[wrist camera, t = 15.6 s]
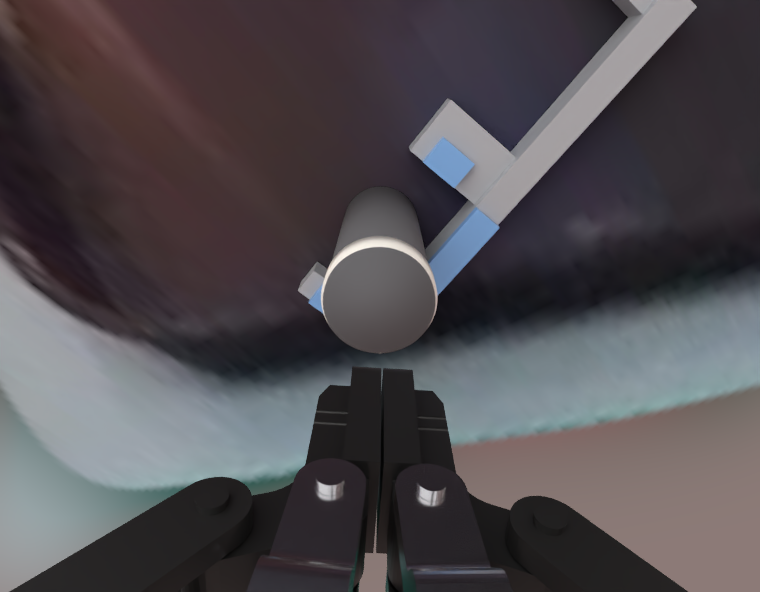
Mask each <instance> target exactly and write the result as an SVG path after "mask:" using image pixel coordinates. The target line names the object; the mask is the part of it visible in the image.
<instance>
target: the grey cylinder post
mask: <svg viewBox="0 0 760 592" xmlns="http://www.w3.org/2000/svg"><path fill="white" fill-rule="evenodd" d="M321 306H322V310H323V314H324V316H325V319H326V321H327V322H328V324H329V326H330V327H331V329H332V330H333V332H334V333H335V334H336V335H337V336H338V337H339V338H340V339H341V340H342V341H344V342H345V343H347V344H348V345H350V346H352V347H354V348H356V349H359V350H362V351H365V352H370V353H388V352H393V351H397V350H400V349H403V348H405V347H407V346H409V345H411V344H412V343H413V342H415V341H416V340H417V339H419V338H420V337H421V336H422V335H423V333H424V332H425V331H426V330H427V328H428V327H429V325H430V324H431V322H432V320H433V318H434V315H435V312H436V308H437V288H436V284H435V279H434V276H433V272H432V270H431V267H430V265H429V263H428V261H427V257H426V253H425V248H424V244H423V240H422V235H421V231H420V226H419V222H418V218H417V214H416V210H415V208H414V206H413V204H412V203H411V201H410V200H409V199H408V198H407V197H406V196H405V195H404V194H403V193H401V192H399V191H398V190H396V189H393V188H389V187H382V186H381V187H372V188H369V189H366V190H364V191H362V192H361V193H359V194H358V195H357V196H355V197H354V198H353V200H352V201H351V202H350V204H349V205H348V207H347V210H346V213H345V216H344V220H343V223H342V227H341V231H340V234H339V238H338V241H337V245H336V249H335V252H334V256H333V259H332V261H331V263H330V265H329V267H328V269H327V272H326V275H325V278H324V281H323V285H322V290H321Z"/></svg>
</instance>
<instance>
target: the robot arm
mask: <svg viewBox="0 0 760 592" xmlns="http://www.w3.org/2000/svg"><path fill="white" fill-rule="evenodd" d="M376 511H377V541H376V542H377V543H376V544H377V545H376V552H377V553H386V554H387V576H386V586H385V592H687V591H686V590H685V589H684V588H682V587H681V586H679V585H678V584H677V583H675V582H673V581H672V580H671V579H670V578H668V577H667V576H665V575H664V574H662V573H661V572H660V571H658V570H657V569H655V568H654V567H653V566H651V565H650V564H649V563H647V562H646V561H644V560H643V559H642V558H640V557H639V556H637V555H636V554H635V553H633V552H632V551H631V550H629V549H628V548H626V547H625V546H624V545H622V544H621V543H619V542H618V541H617V540H615V539H614V538H612V537H611V536H609V535H608V534H607V533H605V532H604V531H602V530H601V529H600V528H598V527H597V526H596V525H594V524H593V523H591V522H590V521H589V520H587V519H586V518H584V517H583V516H582V515H580V514H579V513H577V512H576V511H575V510H573V509H572V508H570V507H569V506H567V505H566V504H564V503H562V502H560V501H557V500H555V499H552V498H548V497H542V496H529V497H525V498H522V499H520V500H518V501H517V502H515V503H514V505H513V506H512V508H511V510H507V509H504V508H501V507H497V506H494V505H491V504H488V503H486V502H483V501H481V500H479V499H477V498H476V497H474V496H472V495H471V494H470V493H469V492H468V491H467V488H466V486H465V483H464V482H463V480H462V479H461V478H460V477H459V476H458V475H457V474H456V471H455V465H454V460H453V454H452V449H451V443H450V438H449V432H448V427H447V421H446V416H445V410H444V405H443V403H442V402H441V400H440V399H439V398H438V397H437V396H436V395H435V393H434V392H433V391H422V390H414V380H413V371H412V370H403V369H386V368H384V369H383V379H382V391H381V368H368V367H352V377H351V386H337V385H330V386H329V387H328V388H327V389H326V390H325V391H324V392H323V393H322V394H321V395H320V396H319V399H318V404H317V409H316V414H315V419H314V424H313V429H312V434H311V439H310V444H309V449H308V454H307V459H306V464H305V466H304V467H302V468H301V469H300V470H299V472H298V473H297V474H296V477H295V479H294V482H293V483H291V484H290V485H288V486H286V487H284V488H282V489H279V490H277V491H273V492H269V493H264V494H258V495H253V496H252V495H251V492H250V490H249V489H248V487H247V486H246V485H245V484H243V483H242V482H240V481H238V480H235V479H232V478H227V477H213V478H207V479H203V480H200V481H198V482H195V483H193V484H191V485H189V486H188V487H186V488H184V489H183V490H181V491H179V492H178V493H176V494H174V495H173V496H171V497H169V498H167V499H166V500H164V501H162V502H161V503H159V504H157V505H156V506H154V507H152V508H150V509H149V510H147V511H145V512H144V513H142V514H140V515H139V516H137V517H135V518H134V519H132V520H130V521H128V522H127V523H125V524H123V525H122V526H120V527H118V528H117V529H115V530H113V531H112V532H110V533H108V534H106V535H105V536H103V537H102V538H100V539H98V540H96V541H95V542H93V543H91V544H90V545H88V546H86V547H85V548H83V549H81V550H80V551H78V552H76V553H74V554H73V555H71V556H69V557H68V558H66V559H64V560H62V561H61V562H59V563H57V564H56V565H54V566H52V567H51V568H49V569H47V570H46V571H44V572H42V573H40V574H39V575H37V576H35V577H34V578H32V579H30V580H29V581H27V582H25V583H24V584H22V585H20V586H18V587H17V588H15V589H13V590H12V591H10V592H359V581H360V579H361V577H362V574H363V570H364V558H365V553H373V548H374V536H375V523H376Z"/></svg>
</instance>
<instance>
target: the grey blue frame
mask: <svg viewBox="0 0 760 592" xmlns="http://www.w3.org/2000/svg"><path fill="white" fill-rule="evenodd" d="M612 1H613V2H614V3H615V4H616V5H617V6H618V7H619V8H620V10H621V11H622V12H623V13H624V14H625V15H626V16H627V17H628V18H627V19H626V20H625V21H624V23H623V24H622V25H621V26H620V27H619V28H618V29H617V31H616V32H615V33H614V34H613V35H612V36H611V37H610V39H609V40H608V41H607V42H606V43H605V44H604V45H603V47H602V48H601V49H600V50H599V51H598V52H597V53H596V55H595V56H594V57H593V58H592V59H591V60H590V62H589V63H588V64H587V65H586V66H585V67H584V68H583V70H582V71H581V72H580V73H579V74H578V75H577V76H576V78H575V79H574V80H573V81H572V82H571V83H570V84H569V86H568V87H567V88H566V89H565V90H564V91H563V92H562V94H561V95H560V96H559V97H558V98H557V99H556V100H555V102H554V103H553V104H552V105H551V106H550V107H549V108H548V110H547V111H546V112H545V113H544V114H543V115H542V116H541V118H540V119H539V120H538V121H537V122H536V123H535V124H534V126H533V127H532V128H531V129H530V130H529V131H528V132H527V134H526V135H525V136H524V137H523V138H522V139H521V140H520V142H519V143H518V144H517V145H516V146H515V147H514V148H513V150H512V151H511V152H509V151H508V150H507V149H506V148H505V147H504V146H503V145H501V144H500V143H499V142H498V141H497V140H496V139H495V138H494V137H492V136H491V135H490V134H489V133H488V132H487V131H486V130H485V129H483V128H482V127H481V126H480V125H479V124H478V123H477V122H476V121H474V120H473V119H472V118H471V117H470V116H469V115H468V114H466V113H465V112H464V111H463V110H462V109H461V108H460V107H459V106H457V105H456V104H455V103H454V102H453V101H452V100H450V99H448V98H447V100H446V101H445V102H444V103H443V105H442V106H441V107H440V108H439V110H438V111H437V112H436V113H435V115H434V116H433V117H432V118H431V120H430V121H429V122H428V123H427V125H426V126H425V127H424V128H423V130H422V131H421V132H420V133H419V135H418V136H417V137H416V138H415V140H414V141H413V142H412V143H411V145H410V146H409V149H410V151H411V152H412V153H414V154H415V155H416V156H417V157H418V158H420V159H421V160H422V161H423V163H424V164H425V165H427V166H428V167H429V168H430V169H431V170H433V171H434V172H435V173H436V174H437V175H439V176H440V177H441V178H442V179H443V180H445V181H446V182H447V183H448V184H449V185H451V186H452V187H453V188H455V189H456V190H458V191H459V192H460V193H461V194H462V195H464V196H465V197H466V198H467V199H468V201H467V202H466V203H465V205H464V206H463V207H462V208H461V209H460V210H459V211H458V213H457V214H456V215H455V216H454V217H453V218H452V219H451V221H450V222H449V223H448V224H447V225H446V226H445V227H444V229H443V230H442V231H441V232H440V233H439V234H438V235H437V237H436V238H435V239H434V240H433V241H432V242H431V243H430V245H429V246H428V247H427V248H426V249H425V253H426V257H427V261H428V263H429V265H430V267H431V270H432V272H433V276H434V279H435V284H436V288H437V296H438V295H439V294H440V293H441V292H442V290H443V289H444V288H445V287H446V286H447V285H448V284H449V283H450V282H451V281H452V280H453V278H454V277H455V276H456V275H457V274H458V273H459V272H460V271H461V270H462V269H463V268H464V266H465V265H466V264H467V263H468V262H469V261H470V260H471V259H472V258H473V257H474V255H475V254H476V253H477V252H478V251H479V250H480V249H481V248H482V247H483V246H484V245H485V243H486V242H487V241H488V240H489V239H490V238H491V237H492V236H493V235H494V234H495V233H496V231H497V230H498V229H499V228H500V227H499V226H498V225H499V223H500V222H501V221H502V220H503V219H504V218H505V217H506V216H507V215H508V214H509V212H510V211H511V210H512V209H513V208H514V207H515V206H516V205H517V204H518V203H519V201H520V200H521V199H522V198H523V197H524V196H525V195H526V194H527V193H528V192H529V191H530V189H531V188H532V187H533V186H534V185H535V184H536V183H537V182H538V181H539V180H540V178H541V177H542V176H543V175H544V174H545V173H546V172H547V171H548V170H549V169H550V167H551V166H552V165H553V164H554V163H555V162H556V161H557V160H558V159H559V158H560V157H561V155H562V154H563V153H564V152H565V151H566V150H567V149H568V148H569V147H570V146H571V144H572V143H573V142H574V141H575V140H576V139H577V138H578V137H579V136H580V135H581V133H582V132H583V131H584V130H585V129H586V128H587V127H588V126H589V125H590V124H591V123H592V121H593V120H594V119H595V118H596V117H597V116H598V115H599V114H600V113H601V112H602V110H603V109H604V108H605V107H606V106H607V105H608V104H609V103H610V102H611V101H612V99H613V98H614V97H615V96H616V95H617V94H618V93H619V92H620V91H621V90H622V89H623V87H624V86H625V85H626V84H627V83H628V82H629V81H630V80H631V79H632V78H633V76H634V75H635V74H636V73H637V72H638V71H639V70H640V69H641V68H642V67H643V66H644V64H645V63H646V62H647V61H648V60H649V59H650V58H651V57H652V56H653V55H654V53H655V52H656V51H657V50H658V49H659V48H660V47H661V46H662V45H663V44H664V42H665V41H666V40H667V39H668V38H669V37H670V36H671V35H672V34H673V33H674V32H675V30H676V29H677V28H678V27H679V26H680V25H681V24H682V23H683V22H684V21H685V19H686V18H687V17H688V16H689V15H690V14H691V13H692V12H693V11H694V10H695V8H696V7H697V6H696V5H695V4H694V3H693V2H692V1H691V0H612ZM326 272H327V268H325V267H324V266H323V265H321V264H320V263H319V262H316V264H315V265H314V266H313V267H312V269H311V270H310V271H309V272H308V274H307V275H306V276H305V277H304V279H303V280H302V281H301V284H300V286H299V289H298V291H299V292H300V293H301V294H303V295H304V296H306V297H307V298H308V299H310V300H309V304H310V305H312V306H313V307H315V308H316V309H318V310H319V311H320V312H322V313H323V310H322V306H321V290H322V285H323V281H324V278H325V275H326ZM379 354H381V353H379Z"/></svg>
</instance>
